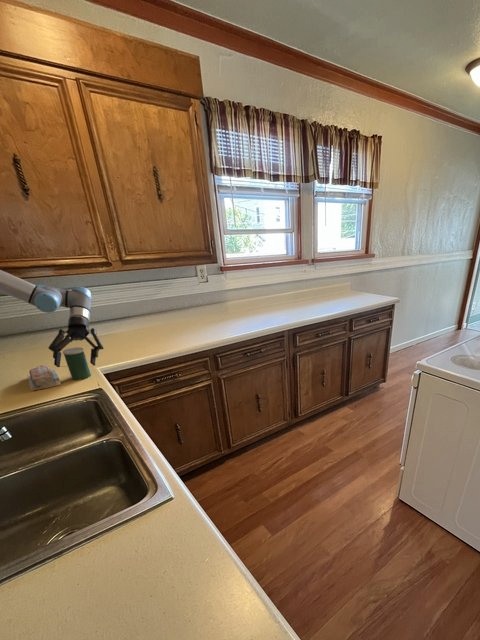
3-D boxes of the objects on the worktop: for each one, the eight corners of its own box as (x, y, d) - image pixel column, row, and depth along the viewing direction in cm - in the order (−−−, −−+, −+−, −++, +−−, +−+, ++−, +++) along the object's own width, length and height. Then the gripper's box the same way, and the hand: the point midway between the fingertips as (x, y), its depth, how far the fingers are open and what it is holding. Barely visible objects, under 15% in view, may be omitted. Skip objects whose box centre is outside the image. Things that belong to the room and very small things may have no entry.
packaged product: (57, 374, 130) (26, 380, 124) (61, 385, 132) (31, 392, 126) (52, 362, 142) (23, 367, 136) (56, 372, 144) (28, 378, 138)
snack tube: (68, 380, 136) (59, 353, 131) (76, 374, 142) (67, 347, 137) (87, 379, 137) (78, 352, 132) (93, 373, 144) (85, 346, 138)
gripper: (113, 323, 147) (111, 366, 141) (52, 326, 143) (47, 370, 137) (106, 314, 140) (103, 359, 134) (42, 316, 136) (35, 362, 130)
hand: (74, 364), depth 135 cm, fingers open, 13 cm apart
